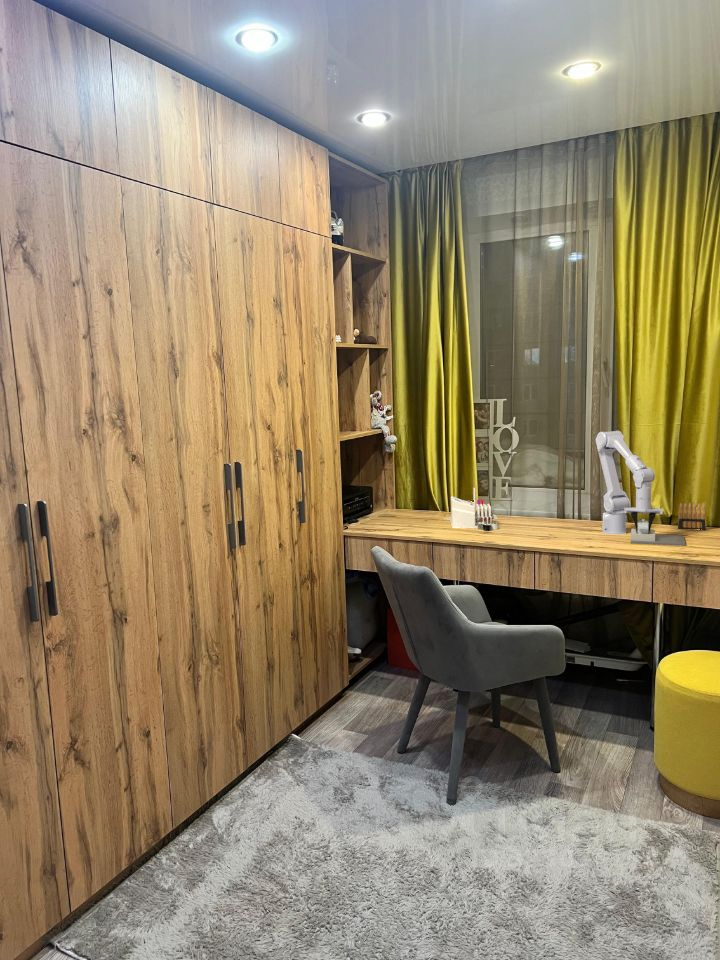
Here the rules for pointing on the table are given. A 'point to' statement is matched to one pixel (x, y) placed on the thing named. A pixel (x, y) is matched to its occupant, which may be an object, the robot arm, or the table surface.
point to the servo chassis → (656, 538)
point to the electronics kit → (471, 514)
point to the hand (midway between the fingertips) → (642, 530)
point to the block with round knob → (642, 526)
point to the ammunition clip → (692, 517)
